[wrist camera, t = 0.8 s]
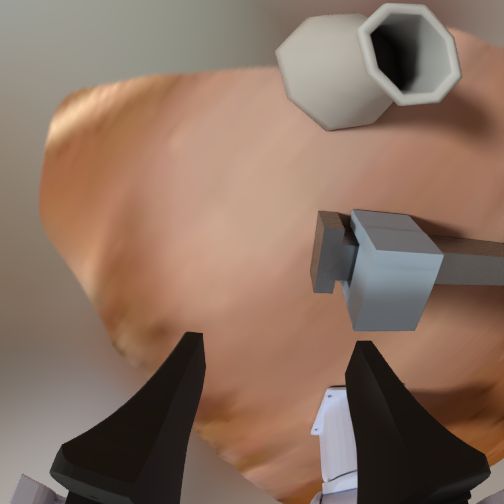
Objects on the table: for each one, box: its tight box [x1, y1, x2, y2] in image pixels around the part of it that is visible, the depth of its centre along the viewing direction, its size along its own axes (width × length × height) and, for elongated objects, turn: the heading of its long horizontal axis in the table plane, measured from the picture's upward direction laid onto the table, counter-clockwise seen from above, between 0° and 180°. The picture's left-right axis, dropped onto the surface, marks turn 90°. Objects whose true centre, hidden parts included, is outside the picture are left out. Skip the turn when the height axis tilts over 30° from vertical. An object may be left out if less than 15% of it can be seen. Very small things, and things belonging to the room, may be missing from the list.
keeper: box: [340, 210, 444, 331], centre depth 18 cm, size 5×4×5 cm
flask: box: [275, 3, 462, 131], centre depth 11 cm, size 7×7×10 cm
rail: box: [310, 211, 504, 293], centre depth 17 cm, size 7×26×6 cm, turn 88°
